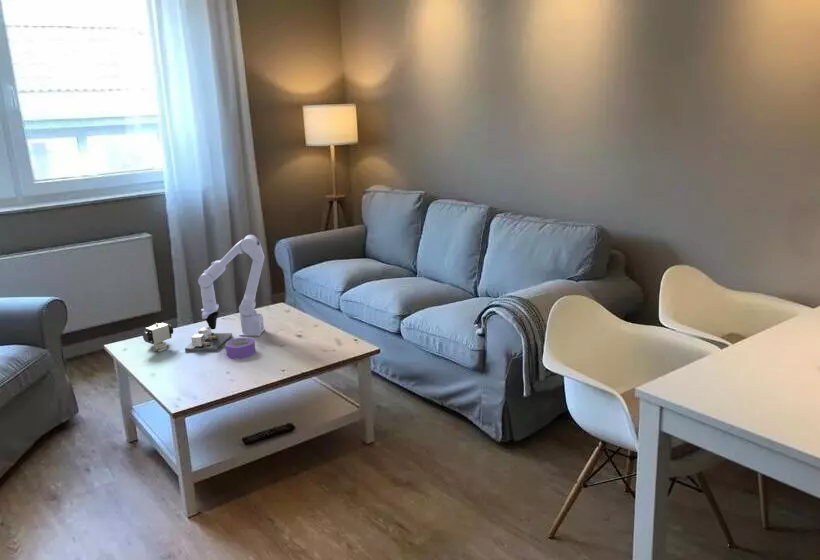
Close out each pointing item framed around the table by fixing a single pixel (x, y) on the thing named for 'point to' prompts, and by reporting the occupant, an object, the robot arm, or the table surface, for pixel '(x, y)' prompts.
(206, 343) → the bolt plate
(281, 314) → the table surface
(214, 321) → the robot arm
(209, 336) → the sliding block
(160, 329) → the pneumatic valve
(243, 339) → the tape roll
